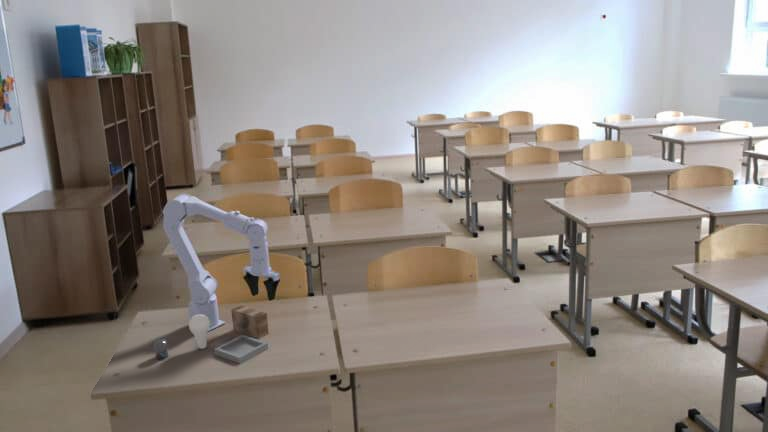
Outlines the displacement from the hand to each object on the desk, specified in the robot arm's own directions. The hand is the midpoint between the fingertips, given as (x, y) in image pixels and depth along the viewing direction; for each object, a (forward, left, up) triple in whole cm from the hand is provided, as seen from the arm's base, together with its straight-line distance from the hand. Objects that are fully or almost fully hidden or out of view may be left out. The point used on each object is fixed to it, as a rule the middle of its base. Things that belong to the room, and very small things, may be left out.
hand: (263, 297), depth 205 cm
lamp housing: (0, -7, -9) cm, 12 cm away
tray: (+8, -18, -9) cm, 22 cm away
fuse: (-10, -33, -9) cm, 35 cm away
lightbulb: (-4, -23, -10) cm, 25 cm away
